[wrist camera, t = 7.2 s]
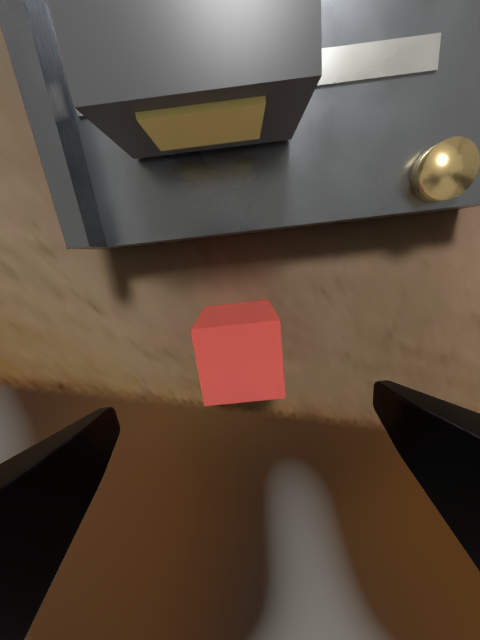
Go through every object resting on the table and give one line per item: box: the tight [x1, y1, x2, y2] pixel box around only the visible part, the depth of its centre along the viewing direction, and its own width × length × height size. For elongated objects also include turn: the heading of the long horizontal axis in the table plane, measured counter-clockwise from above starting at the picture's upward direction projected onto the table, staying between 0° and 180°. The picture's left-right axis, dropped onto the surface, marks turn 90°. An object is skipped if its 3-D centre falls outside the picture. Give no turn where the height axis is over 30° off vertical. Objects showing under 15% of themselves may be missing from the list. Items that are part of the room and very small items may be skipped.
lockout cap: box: [191, 300, 285, 406], centre depth 13 cm, size 4×4×4 cm
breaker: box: [47, 0, 322, 159], centre depth 8 cm, size 7×5×4 cm
